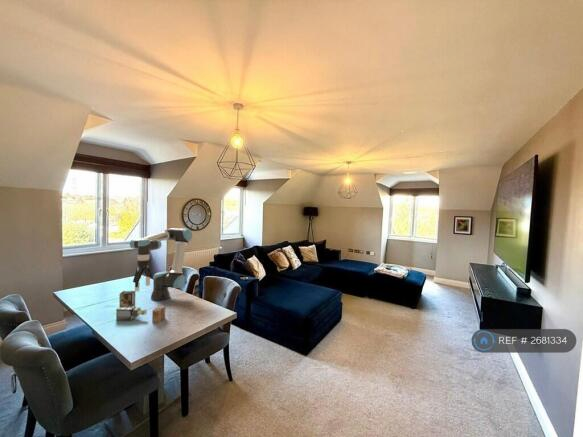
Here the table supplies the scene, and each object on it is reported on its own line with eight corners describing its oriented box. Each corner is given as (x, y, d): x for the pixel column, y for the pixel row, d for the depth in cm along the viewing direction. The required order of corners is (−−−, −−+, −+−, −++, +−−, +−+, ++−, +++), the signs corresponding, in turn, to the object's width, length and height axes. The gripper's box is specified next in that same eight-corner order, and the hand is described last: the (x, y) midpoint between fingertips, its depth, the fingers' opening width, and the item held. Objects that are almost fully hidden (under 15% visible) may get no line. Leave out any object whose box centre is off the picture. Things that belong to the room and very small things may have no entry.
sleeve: (121, 317, 180) (122, 305, 180) (135, 317, 181) (135, 306, 180) (116, 320, 174) (116, 309, 174) (130, 321, 175) (130, 309, 174)
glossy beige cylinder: (124, 313, 180) (124, 307, 179) (147, 314, 180) (147, 307, 180) (119, 316, 175) (119, 309, 175) (143, 317, 175) (143, 310, 175)
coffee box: (135, 310, 192) (136, 290, 192) (132, 314, 186) (132, 293, 185) (122, 310, 191) (123, 290, 190) (118, 314, 184) (119, 293, 184)
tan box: (158, 317, 182) (158, 305, 182) (164, 317, 182) (165, 306, 182) (152, 322, 174) (152, 310, 174) (159, 322, 174) (159, 310, 174)
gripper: (147, 256, 191) (146, 283, 192) (127, 263, 167) (126, 293, 167) (157, 257, 192) (156, 283, 192) (138, 263, 167) (137, 294, 167)
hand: (142, 288), depth 180 cm, fingers open, 13 cm apart
